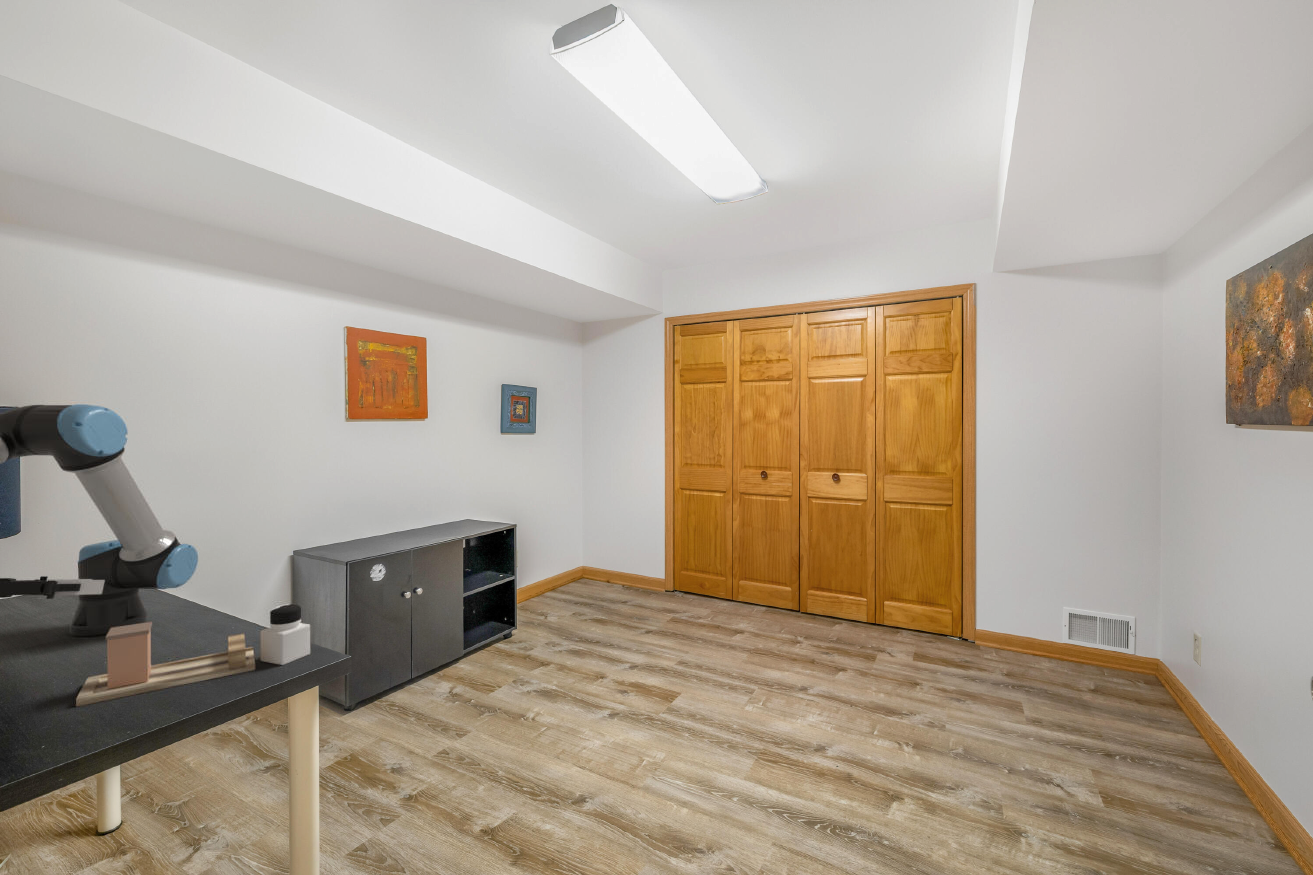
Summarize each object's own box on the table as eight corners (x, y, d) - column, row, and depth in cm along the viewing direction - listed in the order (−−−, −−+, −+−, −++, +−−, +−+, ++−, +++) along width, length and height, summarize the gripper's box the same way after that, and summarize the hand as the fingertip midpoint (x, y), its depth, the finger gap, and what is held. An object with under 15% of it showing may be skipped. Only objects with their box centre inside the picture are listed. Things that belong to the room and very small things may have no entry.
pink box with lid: (111, 678, 118) (110, 627, 118) (152, 670, 122) (151, 621, 122) (106, 689, 113) (105, 636, 113) (149, 681, 117) (148, 629, 117)
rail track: (88, 684, 118) (88, 660, 118) (253, 652, 135) (253, 631, 135) (76, 706, 109) (76, 680, 109) (255, 669, 126) (255, 647, 125)
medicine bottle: (311, 653, 135) (310, 603, 134) (282, 665, 128) (282, 612, 128) (289, 650, 137) (288, 600, 137) (259, 661, 130) (259, 609, 130)
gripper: (-75, 607, 107) (82, 602, 123) (-75, 614, 92) (104, 607, 108) (-64, 566, 109) (90, 567, 125) (-62, 566, 93) (112, 567, 110)
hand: (96, 586), depth 116 cm, fingers open, 13 cm apart
